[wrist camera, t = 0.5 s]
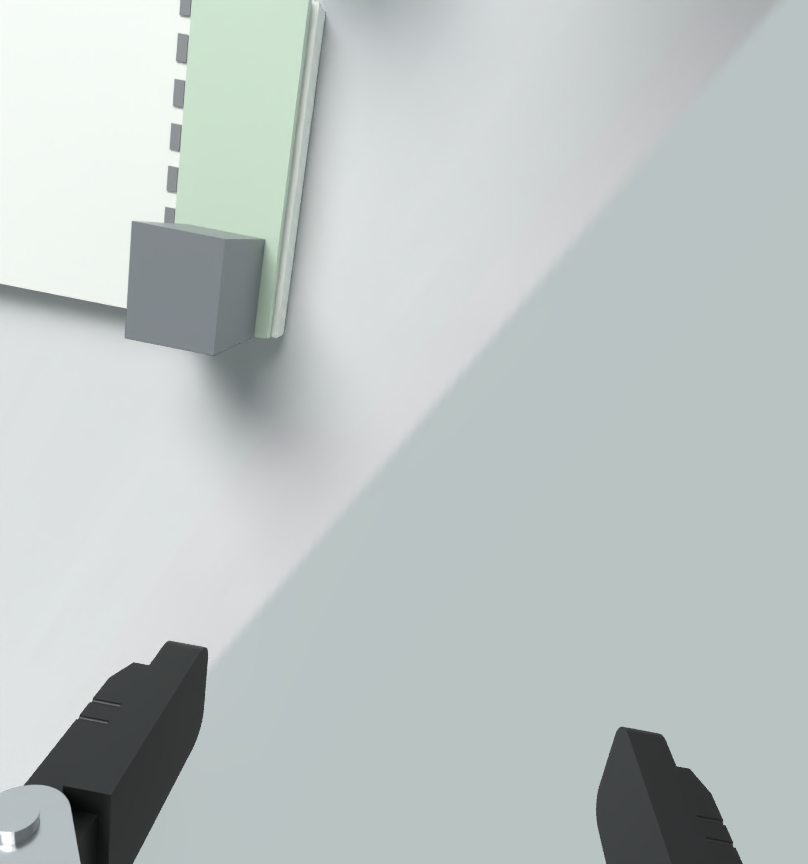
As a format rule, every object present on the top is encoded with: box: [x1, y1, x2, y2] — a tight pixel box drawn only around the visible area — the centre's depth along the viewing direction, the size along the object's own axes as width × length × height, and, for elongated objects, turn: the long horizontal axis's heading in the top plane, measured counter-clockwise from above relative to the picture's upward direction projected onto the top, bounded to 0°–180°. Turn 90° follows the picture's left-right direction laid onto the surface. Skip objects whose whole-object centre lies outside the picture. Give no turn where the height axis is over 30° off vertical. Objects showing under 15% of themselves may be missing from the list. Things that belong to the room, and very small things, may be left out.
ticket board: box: [0, 0, 326, 338], centre depth 34 cm, size 16×24×2 cm, turn 80°
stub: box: [125, 0, 312, 356], centre depth 30 cm, size 16×5×7 cm, turn 170°
